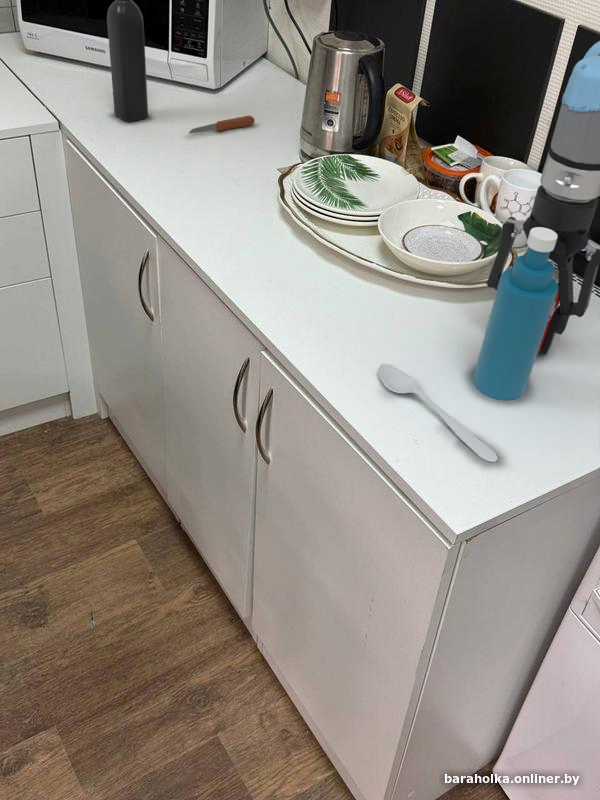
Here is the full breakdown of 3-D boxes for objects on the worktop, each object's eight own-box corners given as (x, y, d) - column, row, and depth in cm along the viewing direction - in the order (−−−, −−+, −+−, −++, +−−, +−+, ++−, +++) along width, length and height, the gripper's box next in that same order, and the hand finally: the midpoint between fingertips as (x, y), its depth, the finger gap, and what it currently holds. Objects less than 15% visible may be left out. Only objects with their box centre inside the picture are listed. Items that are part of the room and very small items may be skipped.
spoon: (391, 367, 109) (392, 357, 108) (506, 455, 98) (510, 445, 97) (368, 377, 107) (370, 368, 106) (484, 468, 96) (487, 459, 94)
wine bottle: (112, 114, 170) (99, -44, 151) (135, 109, 173) (125, -47, 154) (127, 123, 167) (116, -37, 148) (150, 118, 170) (142, -40, 151)
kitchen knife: (251, 123, 172) (251, 114, 171) (255, 125, 171) (255, 116, 170) (187, 136, 164) (186, 126, 163) (190, 138, 164) (190, 128, 162)
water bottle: (516, 367, 112) (562, 220, 97) (531, 400, 106) (583, 249, 92) (467, 367, 111) (506, 218, 96) (480, 400, 105) (524, 248, 91)
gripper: (486, 180, 101) (450, 330, 116) (641, 224, 95) (582, 377, 109) (504, 160, 106) (468, 306, 121) (652, 201, 100) (594, 350, 115)
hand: (522, 340), depth 115 cm, fingers closed on beverage can, 6 cm apart
